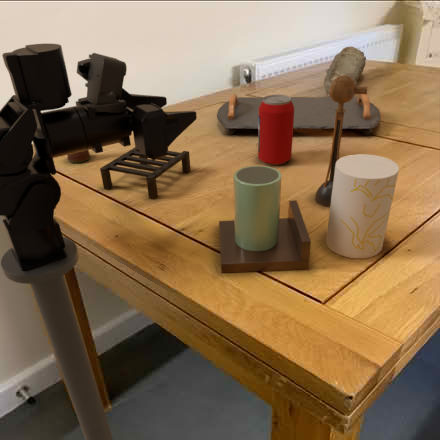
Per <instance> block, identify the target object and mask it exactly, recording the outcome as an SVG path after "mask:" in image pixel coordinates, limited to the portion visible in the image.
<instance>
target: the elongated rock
mask: <svg viewBox="0 0 440 440" xmlns="http://www.w3.org/2000/svg"><path fill="white" fill-rule="evenodd" d="M366 60H367V57H366V56H365V53H364V51H361V50H360V49H358V48H357V47H354V46H345V47H344V48H343V49H341V51H340V52H338V53H337V54H336V55H335V56H333V59H332V61H331V62H330V64H329V68H327V69H326V70H325V73H326V75H325V77H324V78H323V79H324V80H323V87H324V90H325V92H326V94H327V95H329V96H330V92H329V90H330V85H331V83H332V82H333V80H334V79H336V78H337V77H339V76H343V75H346V76H350V77H351V78H352V79H354V81H355V83H356V84H357V83H358V80H360V79H362V77H363V72H364V69H365V67H366V63H367V61H366Z"/></svg>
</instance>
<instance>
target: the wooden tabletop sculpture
mask: <svg viewBox="0 0 440 440" xmlns="http://www.w3.org/2000/svg"><path fill="white" fill-rule="evenodd" d="M329 92H330V95H329V97H331V98H332V99H333V101H335V102H338V109H336V110H335V111H336V117H335V126H334V129H333V135H332V136H333V137H332V142H331V150H330V155H329V163H328V168H327V173H326V177H325V180H324V182H323V183H322V184H320V186H319V187H318V188H317V189H316V192H315V195H314V201H315V202H316V204H317V205H320V206H323V207H328V208H330V205H331V197H332V189H333V181H334V173H335V165H336V162H337V161H338V160H339V159H340V151H341V142H342V132H343V129H342V126H343V118H344V112H345V111H346V110H345V109H343V107H344V103H346V102H349V101H350V100H351V99H352V98H353V97H355V95H360V94H367V95H368V86H363V85H362V86H359V85H357V83H355V81H354V79H352V78H351V77H350V76H346V75H343V76H339V77H337V78H336V79H334V80H333V82H332V83H331V85H330V90H329Z"/></svg>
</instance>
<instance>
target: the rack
mask: <svg viewBox="0 0 440 440" xmlns="http://www.w3.org/2000/svg"><path fill="white" fill-rule="evenodd" d="M179 162H181V171H182V173H183V174H189V173H190V172H191V158H190V151H187V150H183V151H181V152H179V151H172V150H168V151H167V155H166V157H164V158H160V159H157V160H152V159H150V158H149V157H148V156H146V155H145V154H143V153H142V152H141V151H139V150H138V149H136V148H135V147H133V148H131V149H130V150H128V151H126V152H125V153H123V154H122V155H120V156H118V157H116V158H115V159H113V160H111V161H110V162H108V163H107V164H105V165H103V166H101V167H100V168H99V171H100V175H101V181H102V185H103V189H104V190H111V189H113V187H114V185H113V182H112V181H113V180H112V177H111V172H112V171H113V172H116V173H123V174H128V175H132V176H138V177H144V178H145V179H146V186H147V187H146V188H147V193H148V198H149V199H152V200H156V199H157V198H158V197H159V194H158V187H157V179H158V178H159V177H160V176H162V175H163V174H164V173H166V172H167V171H169V170H170V169H171V168H173V167H175V166H176V165H177V164H179Z"/></svg>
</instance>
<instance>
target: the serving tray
mask: <svg viewBox="0 0 440 440" xmlns="http://www.w3.org/2000/svg"><path fill="white" fill-rule="evenodd" d="M264 97H265V96H263V97H262V96H260V97H259V96H258V97H255V96H250V97H249V96H247V97H245V96H244V97H243V96H241V97H240V96H239V97H238V95H237V94H236V93H233V94H232V93H231V95H230V97H229V100H227V101H226V102H225V103H223V104H222V105H221V106H220V107H219V108H218V109H217V113H216V118H217V121H218V123H219V124H220V125H221V126H222V127H223V128H225V134H226V135H227V136H234V134H235V133H236V129H258V122H259V106H260V104H261V103H262V101H263V98H264ZM289 97H290V98H291V101H292V103H293V106H294V124H293V130H294V129H297V130H299V129H300V130H301V129H302V130H303V129H305V130H309V129H310V130H311V129H314V130H318V129H320V130H322V129H323V130H324V129H331V130H334V126H335V117H336V111H335V110H336V109H338V102H335V101H333V99H332V98H331V96H289ZM343 109H345V110H346V111H345V112H344V118H343V126H342V130H343V129H344V130H345V129H347V130H349V129H350V130H353V129H355V130H357V129H358V130H359V129H360V130H361V134H362V136H365V137H369V136H371V135H372V133H373V129H374V128H376V127H377V126H379V123H380V122H381V119H382V117H381V115H382V114H381V110H380V109H379V108H378V107H377V106H375V104H374V103H372V102H371V101H370V97H369V96H368V93H367V94H359V95H358V96H354V97H353V98H352V99H351V100H350V101H349V102H346V103H344V107H343Z"/></svg>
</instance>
